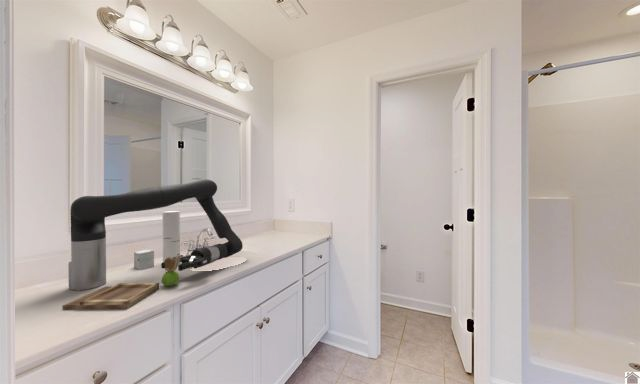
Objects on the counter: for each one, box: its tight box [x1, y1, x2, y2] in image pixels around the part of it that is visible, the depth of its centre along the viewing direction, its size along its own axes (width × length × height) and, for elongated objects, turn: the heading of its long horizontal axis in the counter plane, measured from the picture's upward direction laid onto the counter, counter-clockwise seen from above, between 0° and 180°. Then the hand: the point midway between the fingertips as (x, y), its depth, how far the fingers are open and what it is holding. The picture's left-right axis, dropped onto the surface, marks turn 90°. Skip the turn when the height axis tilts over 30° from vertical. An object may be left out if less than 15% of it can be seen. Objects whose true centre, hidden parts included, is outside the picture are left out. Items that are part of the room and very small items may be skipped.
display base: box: [62, 282, 160, 310], centre depth 77 cm, size 19×14×2 cm
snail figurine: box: [161, 252, 181, 287], centre depth 87 cm, size 5×6×12 cm
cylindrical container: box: [162, 210, 181, 263], centre depth 116 cm, size 7×7×25 cm
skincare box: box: [133, 248, 155, 270], centre depth 109 cm, size 6×6×7 cm
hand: (170, 267), depth 86 cm, fingers open, 8 cm apart
